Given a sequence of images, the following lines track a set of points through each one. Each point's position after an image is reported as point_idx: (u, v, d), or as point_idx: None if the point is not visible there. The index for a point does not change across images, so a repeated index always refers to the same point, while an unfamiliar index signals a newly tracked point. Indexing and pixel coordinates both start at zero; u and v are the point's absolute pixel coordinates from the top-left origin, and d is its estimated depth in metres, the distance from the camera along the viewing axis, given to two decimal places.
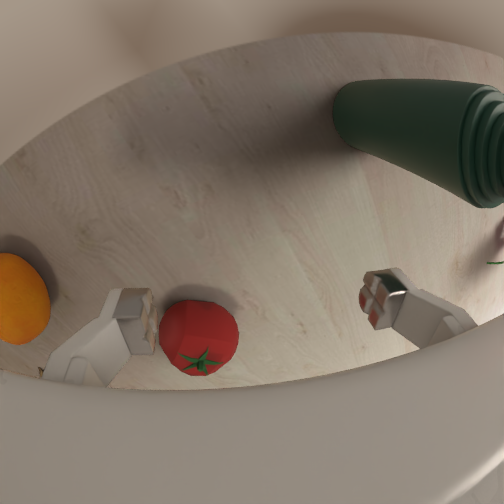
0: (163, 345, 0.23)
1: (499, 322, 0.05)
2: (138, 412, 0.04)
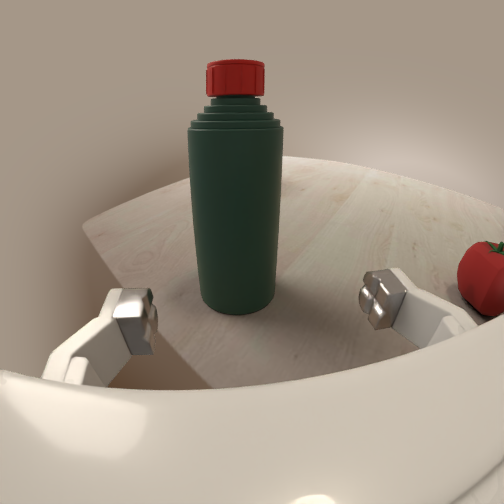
0: None
1: (499, 322, 0.05)
2: (138, 412, 0.04)
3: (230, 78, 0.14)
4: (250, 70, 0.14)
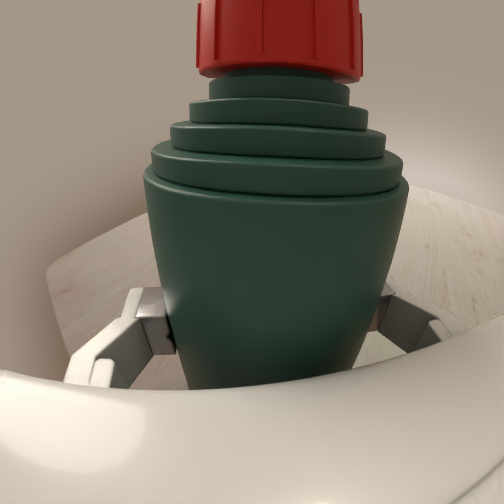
0: None
1: (499, 322, 0.05)
2: (138, 412, 0.04)
3: (279, 12, 0.03)
4: (339, 1, 0.03)
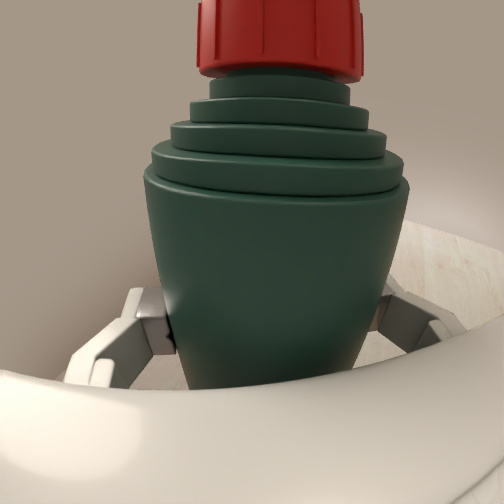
0: None
1: (499, 322, 0.05)
2: (138, 412, 0.04)
3: (279, 12, 0.03)
4: (340, 1, 0.03)
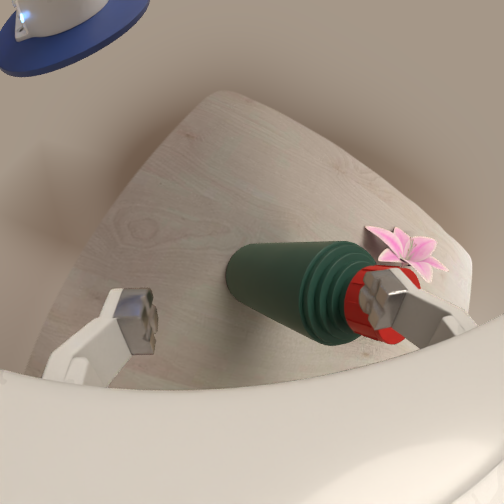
0: None
1: (499, 322, 0.05)
2: (138, 412, 0.04)
3: (357, 310, 0.12)
4: (370, 333, 0.12)
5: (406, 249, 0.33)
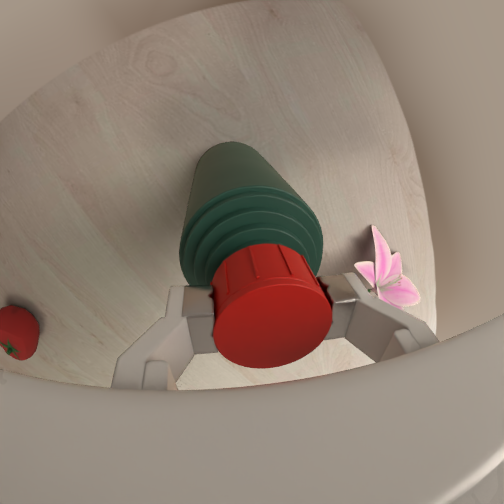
0: None
1: (499, 322, 0.05)
2: (138, 412, 0.04)
3: (220, 283, 0.09)
4: None
5: (389, 279, 0.29)
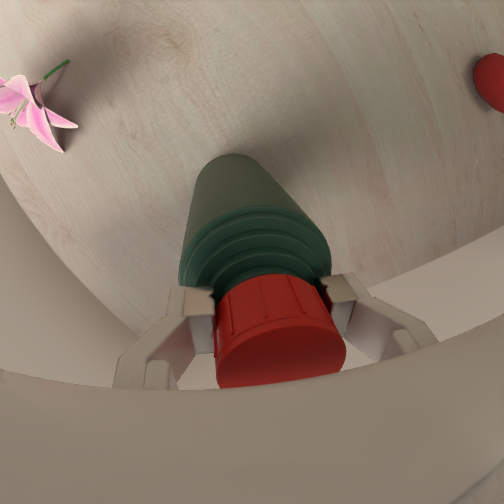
0: None
1: (499, 322, 0.05)
2: (138, 412, 0.04)
3: (223, 320, 0.08)
4: None
5: (23, 102, 0.13)
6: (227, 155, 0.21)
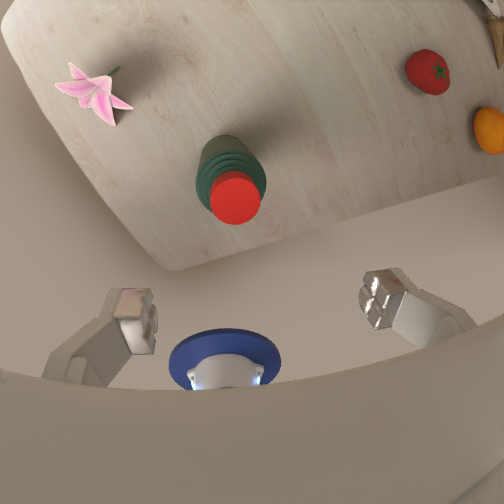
0: (448, 85, 0.28)
1: (499, 322, 0.05)
2: (138, 412, 0.04)
3: (214, 184, 0.21)
4: None
5: (90, 91, 0.26)
6: (221, 136, 0.35)
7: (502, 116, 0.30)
